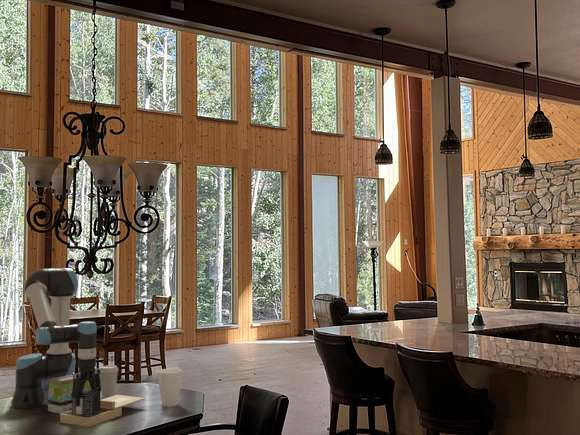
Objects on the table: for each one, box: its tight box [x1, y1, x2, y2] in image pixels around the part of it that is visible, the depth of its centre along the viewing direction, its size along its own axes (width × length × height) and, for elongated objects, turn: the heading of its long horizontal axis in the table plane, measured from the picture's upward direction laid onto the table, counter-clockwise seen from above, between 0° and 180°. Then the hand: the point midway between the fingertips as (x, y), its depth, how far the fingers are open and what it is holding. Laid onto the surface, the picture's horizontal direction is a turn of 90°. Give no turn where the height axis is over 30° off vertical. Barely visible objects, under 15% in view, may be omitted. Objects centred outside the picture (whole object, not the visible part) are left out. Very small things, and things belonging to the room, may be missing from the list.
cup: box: [156, 368, 183, 408], centre depth 292 cm, size 12×12×16 cm
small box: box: [72, 390, 102, 418], centre depth 266 cm, size 11×6×10 cm, turn 76°
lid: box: [100, 394, 146, 409], centre depth 282 cm, size 17×20×3 cm
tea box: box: [47, 374, 89, 414], centre depth 285 cm, size 15×10×15 cm
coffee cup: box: [99, 364, 120, 399], centre depth 309 cm, size 10×10×15 cm
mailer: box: [59, 407, 123, 427], centre depth 268 cm, size 16×20×4 cm
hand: (86, 411), depth 266 cm, fingers open, 8 cm apart
